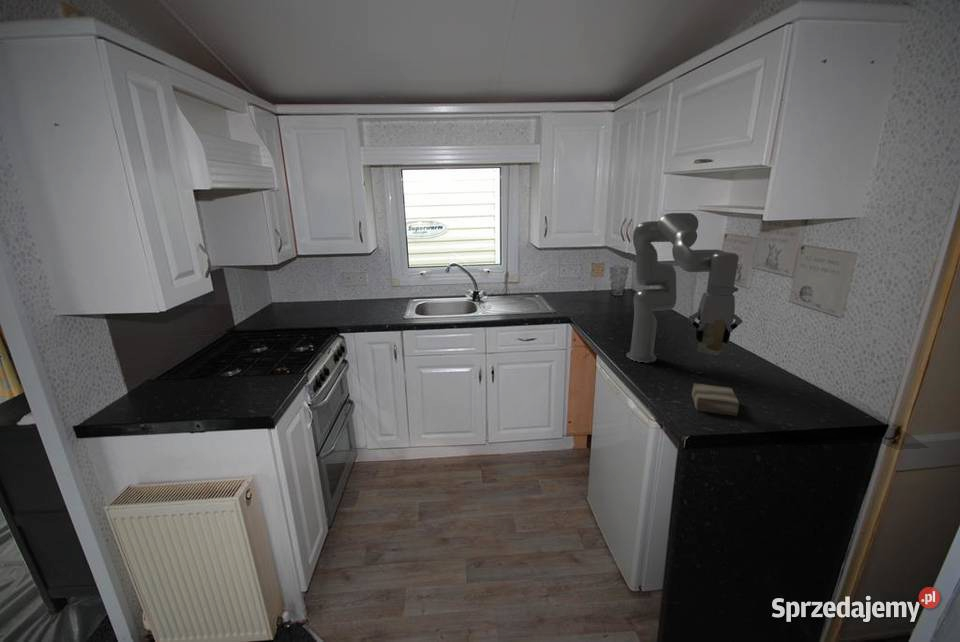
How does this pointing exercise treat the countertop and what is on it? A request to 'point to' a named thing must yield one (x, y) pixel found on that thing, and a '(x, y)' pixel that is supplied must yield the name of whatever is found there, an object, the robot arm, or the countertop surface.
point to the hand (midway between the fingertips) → (711, 341)
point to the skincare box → (712, 338)
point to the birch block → (715, 399)
